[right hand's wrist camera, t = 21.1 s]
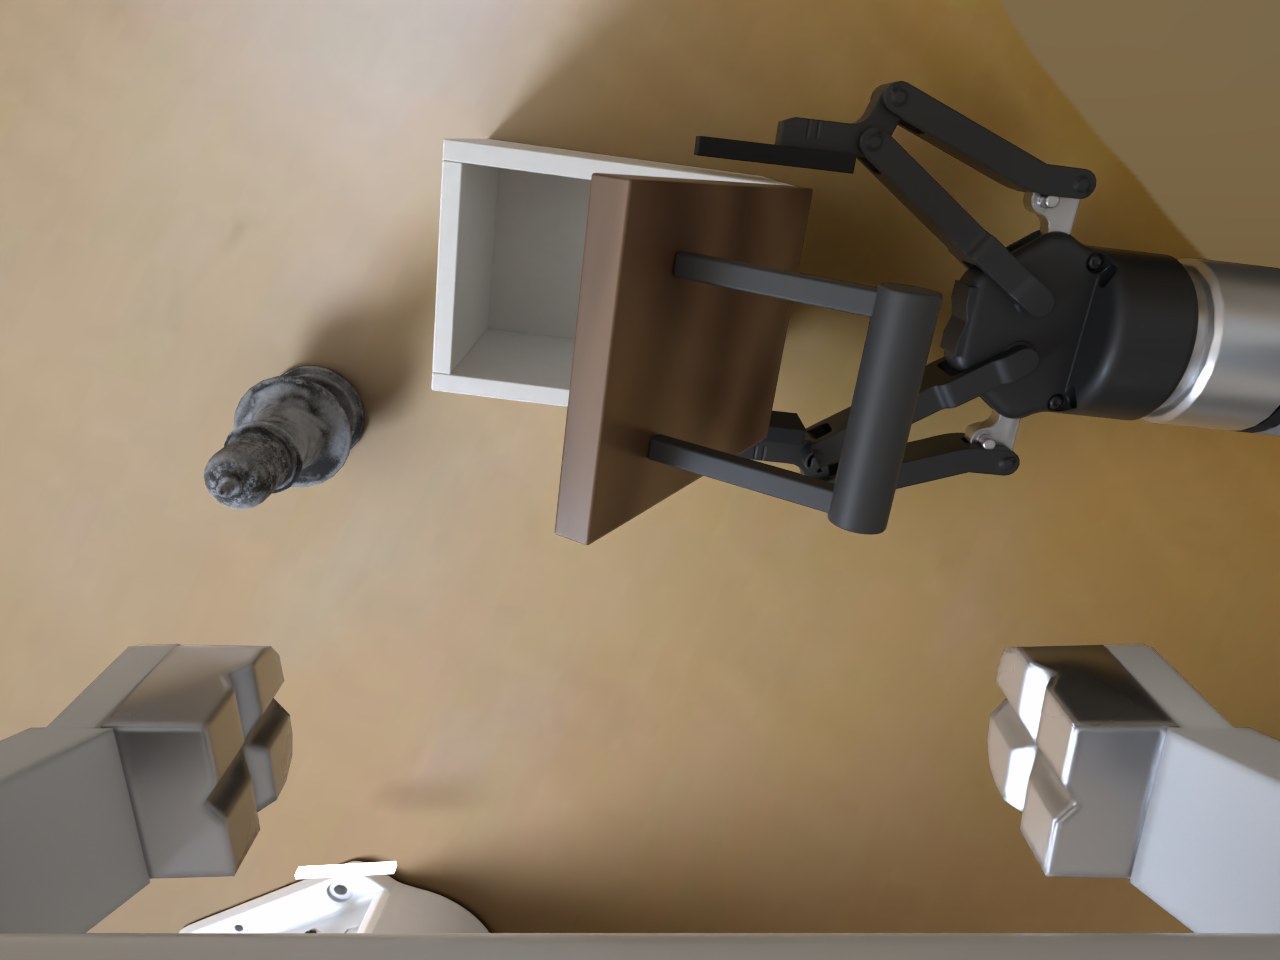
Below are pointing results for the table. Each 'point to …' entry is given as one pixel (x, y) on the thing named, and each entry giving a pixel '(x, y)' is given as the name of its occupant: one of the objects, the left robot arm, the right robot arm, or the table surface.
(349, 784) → the table surface
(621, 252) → the lid
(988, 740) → the right robot arm
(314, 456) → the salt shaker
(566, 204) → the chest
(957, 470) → the left robot arm
